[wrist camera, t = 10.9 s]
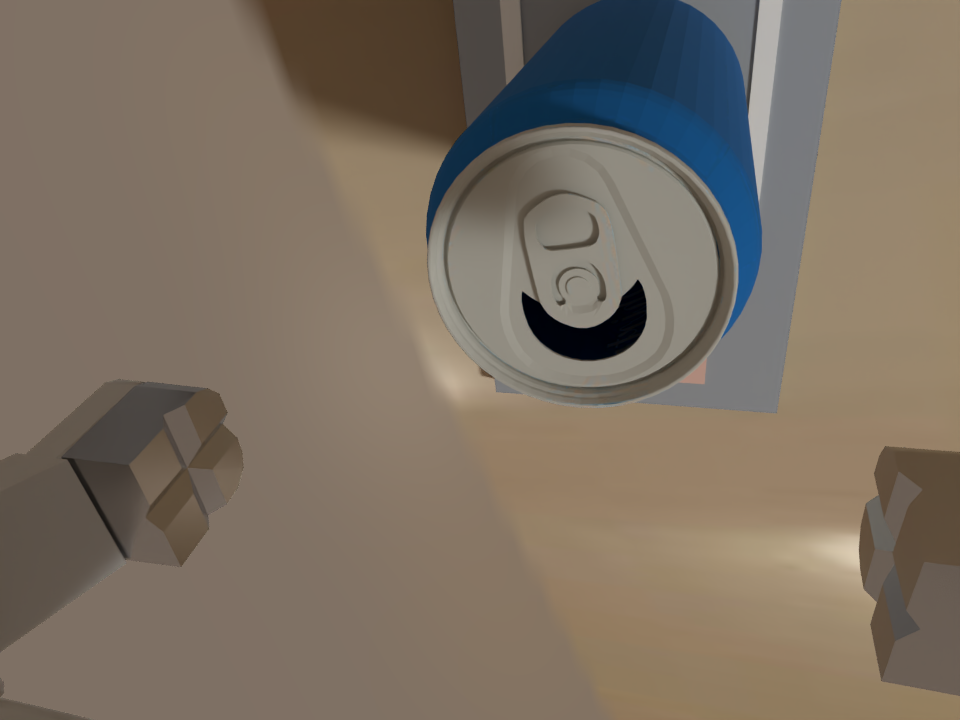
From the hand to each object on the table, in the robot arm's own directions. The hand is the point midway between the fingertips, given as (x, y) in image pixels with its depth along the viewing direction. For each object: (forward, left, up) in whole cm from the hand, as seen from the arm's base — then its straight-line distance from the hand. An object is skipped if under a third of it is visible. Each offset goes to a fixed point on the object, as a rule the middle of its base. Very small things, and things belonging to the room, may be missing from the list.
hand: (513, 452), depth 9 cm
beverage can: (+1, 0, -17) cm, 17 cm away
